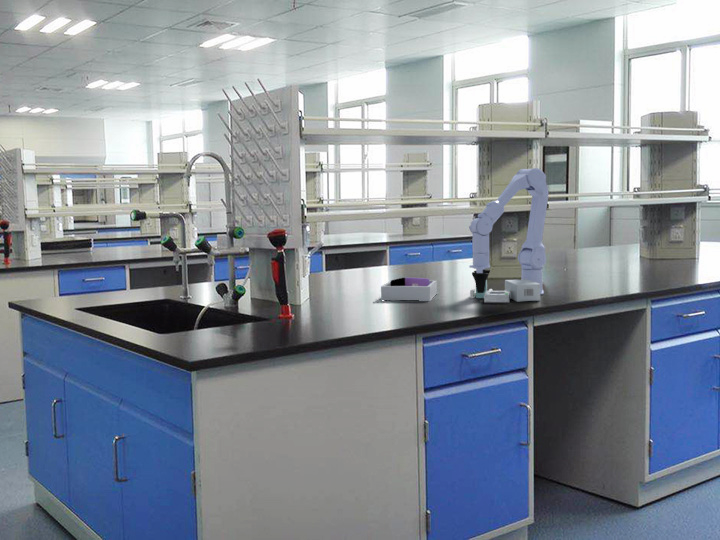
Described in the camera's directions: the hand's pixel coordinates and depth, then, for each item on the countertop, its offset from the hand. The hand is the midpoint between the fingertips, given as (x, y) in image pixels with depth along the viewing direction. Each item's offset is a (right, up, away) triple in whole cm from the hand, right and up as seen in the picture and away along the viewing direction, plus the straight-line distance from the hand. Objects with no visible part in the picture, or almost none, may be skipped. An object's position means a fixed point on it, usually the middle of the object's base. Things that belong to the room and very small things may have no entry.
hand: (481, 291), depth 265 cm
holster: (0, -2, 0) cm, 2 cm away
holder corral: (-25, -2, +4) cm, 25 cm away
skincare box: (+13, 0, -13) cm, 19 cm away
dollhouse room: (-25, -3, +4) cm, 25 cm away
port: (+4, -3, -10) cm, 11 cm away
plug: (0, -2, 0) cm, 2 cm away
